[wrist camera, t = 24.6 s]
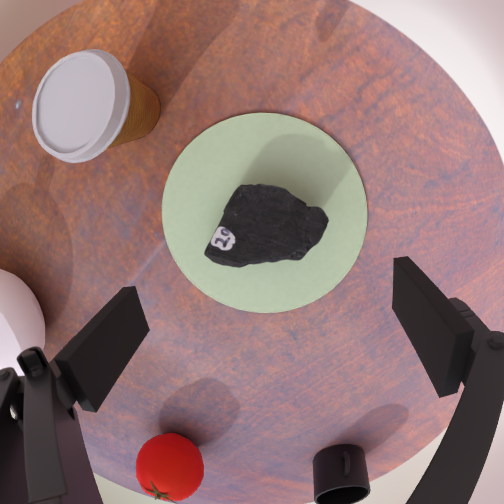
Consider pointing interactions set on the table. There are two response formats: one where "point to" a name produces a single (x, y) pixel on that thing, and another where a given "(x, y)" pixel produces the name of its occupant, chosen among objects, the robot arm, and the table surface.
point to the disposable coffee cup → (91, 106)
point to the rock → (265, 227)
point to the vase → (18, 320)
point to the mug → (340, 475)
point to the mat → (269, 173)
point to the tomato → (169, 467)
